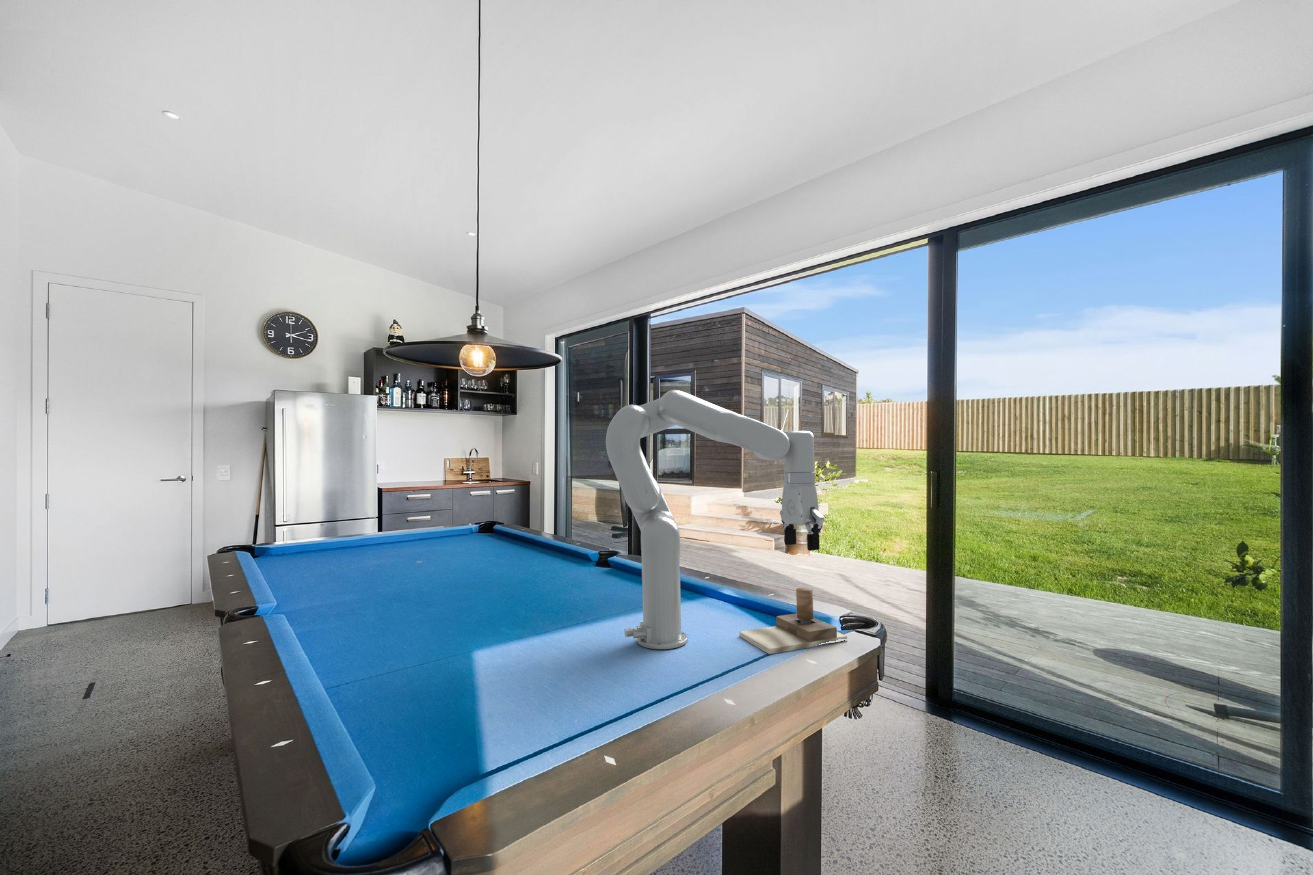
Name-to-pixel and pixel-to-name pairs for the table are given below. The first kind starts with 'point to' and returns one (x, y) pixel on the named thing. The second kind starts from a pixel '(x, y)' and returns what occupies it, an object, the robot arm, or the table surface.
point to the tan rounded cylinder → (804, 605)
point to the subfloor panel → (791, 634)
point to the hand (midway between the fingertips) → (801, 547)
